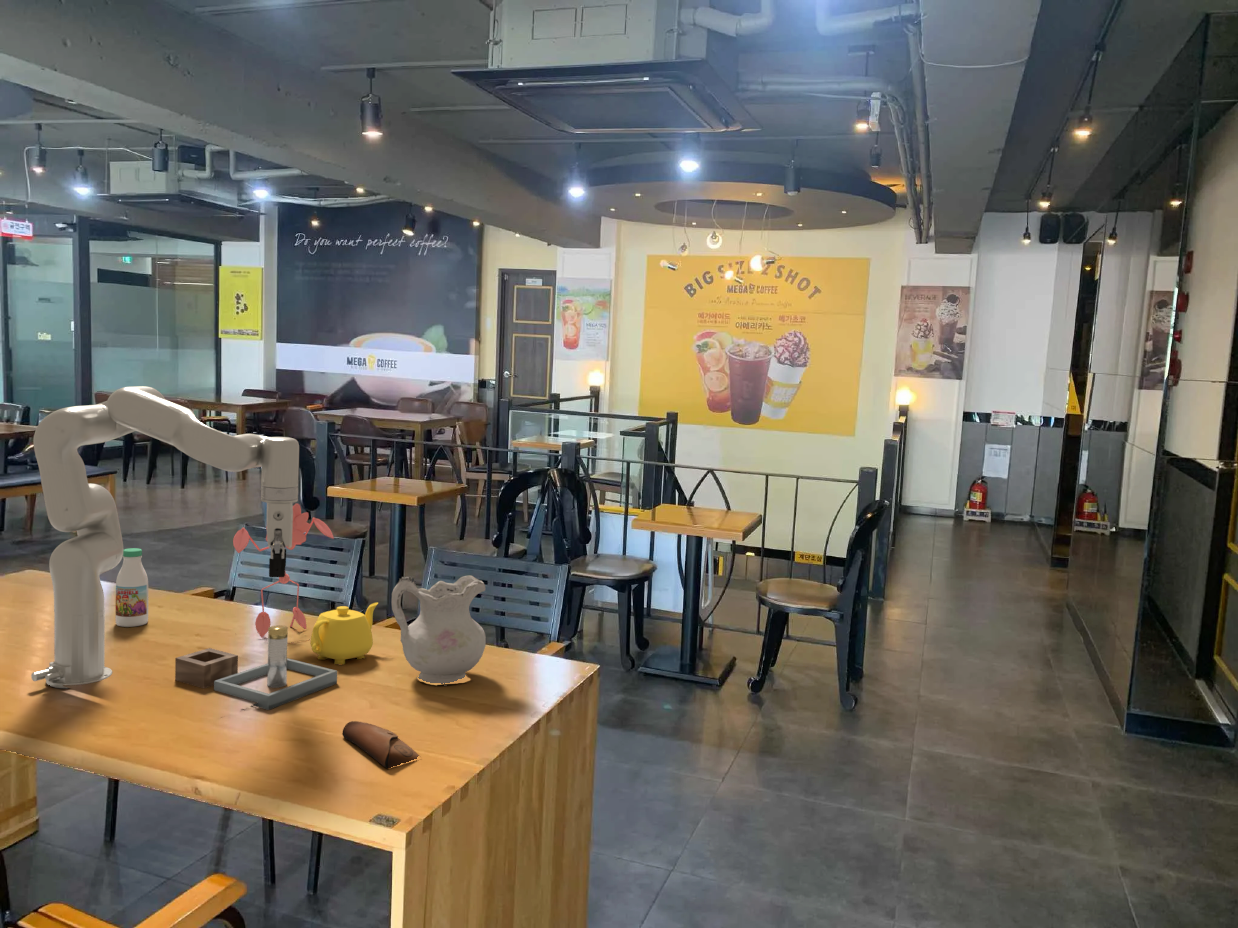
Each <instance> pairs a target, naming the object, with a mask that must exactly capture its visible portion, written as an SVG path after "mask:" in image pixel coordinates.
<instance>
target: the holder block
mask: <svg viewBox="0 0 1238 928" xmlns="http://www.w3.org/2000/svg"><path fill="white" fill-rule="evenodd" d="M238 660H239V655H238V654H235V653H230V652H226V651H223V650H218V649H215V648H211V647H208V648H205V649H202V650H199V651H195V652H191V653H188V654H185V655H181V656H178V657H175V667H174V669H175V670H174V671H175V673H174V674H175V676H174V679H175V681H176V682H180V683H183V684H186V685H190V686H195V687H197V688H201V689H207V688H209V687H212V686H213V687H214V681H215V680H218V679H222V678H225V677H228V676H231V675H234V674H237V673H239V672H238V671H239V670H238V667H239V661H238Z"/></svg>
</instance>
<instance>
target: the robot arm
mask: <svg viewBox="0 0 1238 928" xmlns="http://www.w3.org/2000/svg"><path fill="white" fill-rule="evenodd" d="M135 432H138V433H140V434H143V435H146V436H149V437H151V438H153V439H156V440H159V441H161V442H163V443H166V444H169V445H171V446H172V447H175V448H176V449H177V450H178V451H180V452H182V453H184V454H185V455H186V456H188V457H190V458H192V459H193V460H196V461H199V462H201V463H203V464H205V465H209V466H212V467H214V468H217V469H220V470H222V471H226V472H231V473H238V472H242V471H246V470H250V469H256V468H261V478H260V481H261V483H260V485H261V487H260V491H261V492H260V502H262V503H266V526H267V529H266V535H267V541H266V542H267V547H269V549H270V558H269V560H268V562H269V563H268V565H269V566H268V576H269V578H279V577H284V576H285V571H286V567H287V549H288V548H291V547H292V529H293V506H294V505H293V504H294V503H297V502H298V501H299V499H298V498H299V496H298V495H299V466H300V445H299V442H298V440H297V439H296V438H292V437H289V436H266V435H260V434H256V433H243V434H238V435H230V434H228V433H227V432H226V433H225V432H222V431H221V430H217V429H215V428H212V427H210V426H207V425H206V424H204V423H203V422H201V421H199V420H198V419H197V417H196V415H195V413H194V411H193V410H192V409H190V408H188V407H186V406H183V405H180V404H178V403H175V402H172V401H170V400H168V399H166V398H165V396H164V395H163V394H162V393H161V392H160V391H159V390H157V389H156V388H154V387H151V386H145V385H144V386H143V385H141V386H123V387H121V388H118V389H116V390H114V391H113V392H112V393H111V394H110V395H109V397H108V398H107V400H106V401H102V402H100V403H97V404H96V403H95V404H89V405H75V406H74V405H73V406H68V407H63V408H59V409H57V410H54V411H52V412H51V413H49V414H48V415H46V416H44V418H43V419H42V420H41V421H40V422H39V423H38V425H37V426H36V428H35V432H34V434H33V441H32V442H33V450H34V455H35V459H36V461H37V462H36V463H37V465H38V470H39V474H40V475H39V476H40V483H41V487H42V488H41V489H42V493H43V498H44V499H43V500H44V502H45V503H44V505H45V510H46V515H47V518H48V521H49V523H50V525H51V526H52V528H54V529H55V530H57V531H59V532H63V533H71V532H76V534H77V536H75V537H72V538H69V539H67V540H65V541H63V542H61V543H60V544H59V545H57V546H56V547H55V549H54V550H53V551H52V553H51V555H50V557H49V562H48V563H49V564H48V565H49V566H48V567H49V574H50V578H51V584H52V587H53V588H52V589H53V612H54V616H53V617H54V621H53V623H54V626H53V627H54V633H53V634H54V643H53V644H54V655H53V656H54V661H51V662H49V666H48V667H46V668H45V669H43V670H38V671H34V672H32V673H31V675H30V677H31V680H32V681H33V682H38V681H41V680H44V679H45V682H46V683H45V684H47V685H48V686H49V685H50V687H53V688H55V689H68V687H66V686H78V685H79V686H80V685H87V684H91V683H97V682H100V681H103V680H106V679H108V678H110V677H111V675H112V674H113V670H112V669H111V668H110V667H106V666H105V611H106V610H105V609H106V608H105V593H104V588H103V585H102V582H101V579H100V575H102V574H104V573H106V572H109V571H111V570H112V569H114V568H116V567H117V566H118V565H119V564H120V562H121V561H122V559H123V558H122V557H123V550H124V542H123V535H122V530H121V525H120V524H121V523H120V518H119V514H118V509H117V505H116V501H115V499H114V497H113V495H112V493H111V492H110V491H109V490H108V489H107V488H105V487H104V486H102V485H100V484H97V483H89V481H88V476H87V469H86V466H85V463H84V460H83V458H82V457H81V455H80V454H79V451H78V449H79V448H80V447H81V446H89V445H95V444H96V445H97V444H103V443H106V442H109V441H112V440H115V439H118V438H120V437H121V438H122V437H123V436H126V435H128V434H131V433H135ZM285 546H288V548H286V547H285Z"/></svg>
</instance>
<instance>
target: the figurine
mask: <svg viewBox="0 0 1238 928" xmlns="http://www.w3.org/2000/svg"><path fill="white" fill-rule="evenodd" d="M309 517H310V516H309V512H307V511H306V512H305V511H304V512H303V513H302V508H301V504H299V503H295V504H294V505H293V529H292V547H291V548H288V546H285V549H287V550H290V551H292V550H294V549H295V547H296V546H297V545H299V546H300V545H302V544H303V543H305V542H306V541H307V535H308V533H309V532H310V529H311V527H312V526H313V524H314V525H315V527H316V528H317V530H318V531H319V532H320V533H322V535H324V536H325V537H328V538H330V539H332V540H333V539H335V537H334V535H333V532H332V530H331V528H330V527H329V526H328V524H327V523H325V522H324V521H323V520H321V519H320V518H316V517H312V520H311V522H310V523H309V522H308V520H309ZM265 528H266V529H265V530H267V525H266V526H265ZM250 541H251V543H252V545H253V546H254V547H255V548H256V549H257V550H258V552H263V551H265V550H269V549H270V548H269V547H268V546H266V547H263V548H260V547H259V546H258V545H257V543H256V542H255V541H254V539H253V538H252V537H251V536H250V534H249V532H248V530H247V529H246V528H245V527H241V529H238V530H237V532H236V533H235V535H234V537H233V539H232V542H233V543H232V545H233V547H234V549H235V551H236V553H237V554H240V553H241V552H242V551H243V550H245V549H246V548H247V546H248V544H249V542H250ZM265 541H266V542H267V534H266V536H265ZM289 582H291V583H293V584H295V585H297V588H296V589H297V591H296V592H297V594H296V606H293V608H292V615H293V616H292V619H291V623H290V626H289V627H290V628H293V625H294V622H296V623H297V624H298V625H299V626H300V627H301V628H303V629H304V630H305V629H306V630H307V620H306V617H305V615H304V613H303V611H302V610H301V609H300V608H299V596H300V595H299V593H300V591H299V590H300V584H299V583H298V582H295V581H294V580H291V579H290V575H289V574H288V573H286V570H285V576H284V577H278V580H277V581H275V582H273V583H271V584H269V585H267V586H265V587H263V588H261V590H260V596H261V607H262V608H261V609H262V611H261V612H259V613H258V614H257V616H256V619H255V621H254V624H255V625H254V626H255V630H256V631H257V633H258V635H259V637H260V638H263V637H264V636H266V634H268V628H269V627H271V617H270V615H269V613H268V612H266V611H265V607H264V593H263V592H264V591H263V590H266V589H269V588H270V587H272V586H274V585H276V584H278V583H281V584H283V585H285V584H287V583H289ZM235 635H237V633H235ZM288 644H289V642H287V645H288ZM292 644H295V643H294V642H292Z"/></svg>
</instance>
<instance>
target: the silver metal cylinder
mask: <svg viewBox="0 0 1238 928" xmlns="http://www.w3.org/2000/svg"><path fill="white" fill-rule="evenodd" d="M288 628H289V627H288V626H286V625H272V626H271V625H270V627H269V628H268V632H267V663H268V671H267V674H266V677H267V678H266V680H267V684H266V686H267V687H268V688H272V689H273V688H274V689H276V688H278V689H279V688H285V686H286V687H287V679H288V677H287V676H288V675H287V674H288V671H287V670H288V669H287V658H288V644H287V643H288V631H289V629H288Z"/></svg>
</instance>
